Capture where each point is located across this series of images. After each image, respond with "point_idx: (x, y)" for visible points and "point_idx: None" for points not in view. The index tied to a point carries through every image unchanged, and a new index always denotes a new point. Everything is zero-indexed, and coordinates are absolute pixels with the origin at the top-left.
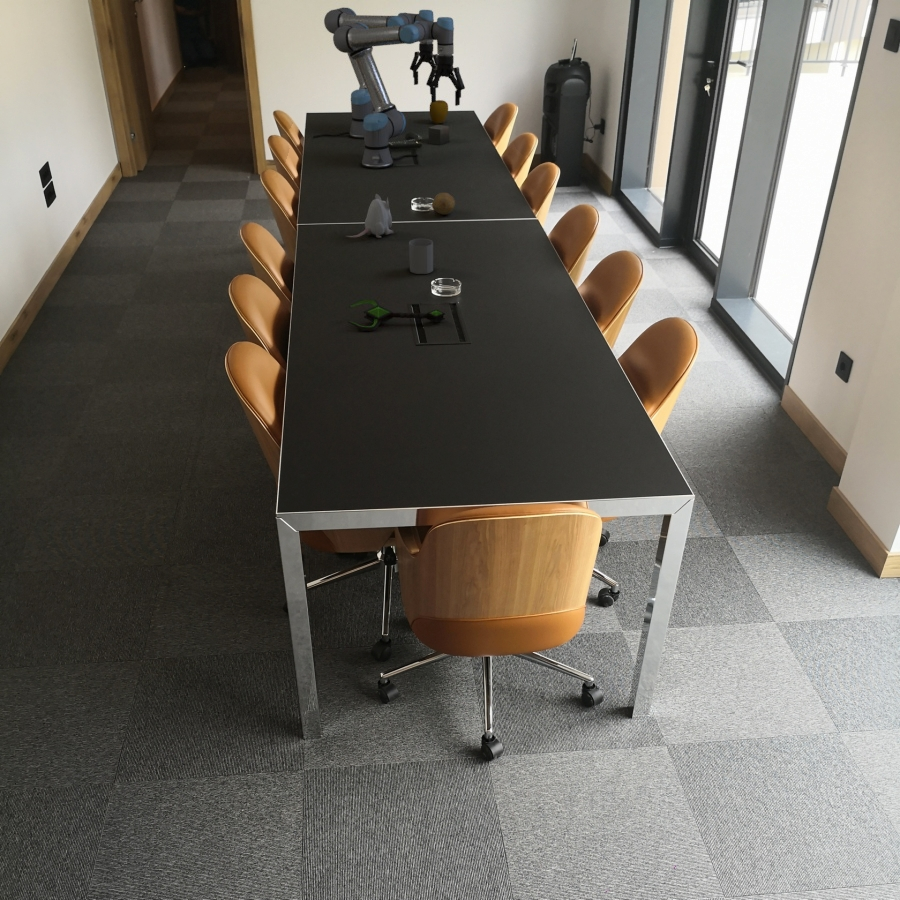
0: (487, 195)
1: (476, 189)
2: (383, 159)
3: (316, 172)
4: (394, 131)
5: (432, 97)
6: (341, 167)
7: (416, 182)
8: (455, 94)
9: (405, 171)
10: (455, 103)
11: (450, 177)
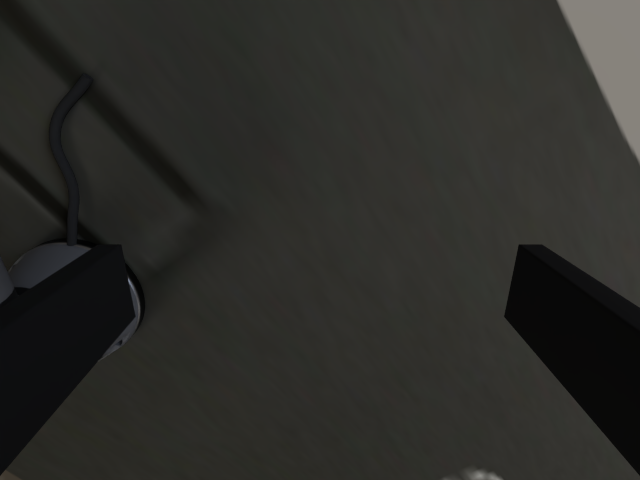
0: None
1: None
2: (121, 336)
3: None
4: (2, 293)
5: (97, 360)
6: None
7: (353, 385)
8: (612, 435)
9: (232, 306)
10: (523, 332)
11: (425, 281)
